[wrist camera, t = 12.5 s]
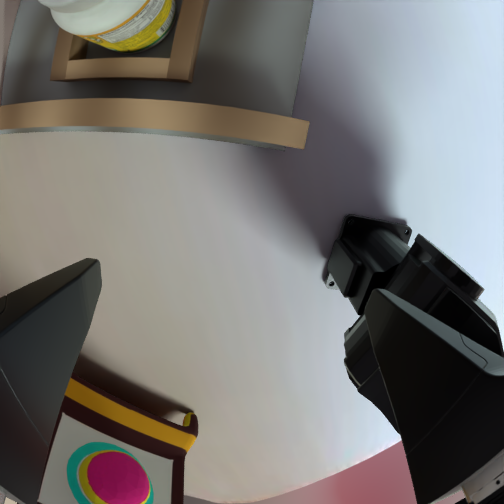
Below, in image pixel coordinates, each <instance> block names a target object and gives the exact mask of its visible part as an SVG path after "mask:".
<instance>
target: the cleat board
mask: <svg viewBox="0 0 504 504" xmlns="http://www.w3.org/2000/svg"><path fill="white" fill-rule="evenodd" d="M313 1H314V0H175V2H176V5H177V16H176V20H175V23H174V25H173V27H172V29H171V30H170V32H169V33H168V35H167V36H166V37H165V38H164V39H163V40H162V41H161V42H159V43H158V44H157V45H155V46H153V47H152V48H150V49H148V50H145V51H143V52H139V53H134V54H124V53H119V52H116V51H113V50H110V49H108V48H105V47H103V46H101V45H99V44H96V43H94V42H91V41H89V40H86V39H84V38H81V37H79V36H77V35H74V34H72V33H69V32H67V31H65V30H64V29H62V28H61V27H60V26H58V24H57V23H56V22H55V20H54V19H53V16H52V14H51V10H50V8H48V7H47V6H45V5H43V4H41V3H40V2H39V1H38V0H21V2H20V5H19V9H18V12H17V16H16V19H15V23H14V27H13V31H12V36H11V40H10V45H9V50H8V55H7V61H6V67H5V73H4V81H3V89H2V98H1V106H0V134H10V133H26V132H53V131H98V132H126V133H144V134H158V135H170V136H181V137H191V138H200V139H208V140H216V141H224V142H231V143H238V144H245V145H251V146H258V147H264V148H270V149H275V150H281V151H285V147H286V146H288V147H294V148H299V149H304V147H305V142H306V137H307V133H308V128H309V123H310V122H309V121H305V120H300V119H295V118H291V117H292V112H293V106H294V101H295V96H296V91H297V86H298V81H299V76H300V70H301V65H302V60H303V55H304V49H305V44H306V39H307V33H308V28H309V23H310V17H311V12H312V6H313Z"/></svg>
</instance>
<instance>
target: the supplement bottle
mask: <svg viewBox="0 0 504 504" xmlns="http://www.w3.org/2000/svg"><path fill="white" fill-rule="evenodd" d="M38 1H39V2H40V3H41V4H43V5H45V6H47V7H48V8H50V10H51V14H52V16H53V19H54V20H55V22H56V23H57V24H58V26H60V27H61V28H62V29H64V30H65V31H67V32H69V33H72V34H74V35H77V36H79V37H81V38H84V39H86V40H89V41H91V42H94V43H96V44H99V45H101V46H103V47H105V48H108V49H110V50H113V51H116V52H119V53H124V54H134V53H139V52H143V51H145V50H148V49H150V48H152V47H153V46H155V45H157V44H158V43H159V42H161V41H162V40H163V39H164V38H165V37H166V36H167V35H168V33H169V32H170V30H171V29H172V27H173V25H174V23H175V20H176V16H177V5H176V2H175V0H38Z"/></svg>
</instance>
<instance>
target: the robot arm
mask: <svg viewBox="0 0 504 504" xmlns="http://www.w3.org/2000/svg"><path fill="white" fill-rule="evenodd" d="M350 219H352V222H351V223H348V221H349V220H350ZM406 230H407V232H406V233H405V231H406ZM411 233H412V229H411V228H410V227H409V226H407V225H403V224H398V223H393V222H389V221H384V220H379V219H373V218H368V217H363V216H358V215H352V214H349V215H346V216H345V218H344V220H343V224H342V227H341V231H340V234H339V237H338V239H337V240H336V241H335V243H334V247H333V250H332V253H331V256H330V260H329V263H328V266H327V269H328V273H327V276H326V279H325V285H326V287H327V288H328V289H337V290H340V291H341V293H342V294H343V296H344V297H345V298H349V300H350V302H351V304H352V305H353V307H354V309H355V310H356V312H357V314H358V315H361V316H360V317H359V318H358V320H357V321H356V322H355V323H354V324H353V326H352V327H351V328H348V330H347V331H346V332H345V333H344V337H345V342H344V346H345V353H346V357H345V359H344V364H345V366H346V369H347V373H348V376H349V379H350V380H351V381H352V383H353V384H354V385H355V386H356V388H357V390H358V392H359V393H360V394H361V395H363V396H364V397H366V398H367V399H368V400H370V401H371V402H372V403H373V404H374V405H375V406H376V407H377V408H378V409H379V410H380V411H381V412H382V413H383V414H384V415H385V417H386V418H387V419H388V421H389V422H390V423H391V425H392V426H393V427H394V429H395V430H396V431H397V432H398V433H399V434H400V435H401V439H402V443H403V446H404V450H405V454H406V458H407V462H408V466H409V470H410V474H411V478H412V482H413V487H414V491H415V495H416V501H417V504H434V503H436V502H438V501H440V500H443V499H444V498H447V497H449V496H451V495H453V494H455V493H457V492H459V491H461V490H462V491H463V493H464V495H465V498H464V499H462V500H460V501H459V502H457V503H455V504H504V351H503V346H502V341H501V337H500V333H499V328H498V325H497V321H496V317H495V315H494V314H493V313H492V312H491V311H490V310H489V309H488V308H487V307H486V306H485V305H484V304H483V303H482V302H481V301H480V300H479V299H478V298H479V296H480V295H481V294H482V292H483V291H484V288H483V287H482V286H481V285H480V284H479V283H478V282H477V281H476V280H475V279H474V278H473V277H472V276H471V275H470V274H469V273H468V272H466V271H465V270H464V269H463V268H462V267H461V266H460V265H458V264H457V263H456V262H455V261H454V260H452V259H451V258H450V257H449V256H447V255H446V254H445V253H444V252H442V251H441V250H440V249H439V248H437V247H436V246H435V245H434V244H432V243H431V242H430V241H428V240H427V239H426V238H424V237H423V236H422V235H420V234H418V235H417V237H416V238H415V242H414V244H413V245H412V247H411V248H410V247H409V246H408V245H407V244H408V242H409V239H410V236H411ZM331 281H333V283H331V284H329V283H330V282H331ZM101 287H102V279H101V268H100V262H99V260H98V259H92V258H86V259H83V260H81V261H79V262H77V263H74V264H72V265H70V266H67V267H65V268H63V269H61V270H58V271H56V272H54V273H52V274H50V275H47V276H45V277H43V278H41V279H39V280H37V281H34V282H32V283H30V284H28V285H26V286H24V287H22V288H20V289H18V290H16V291H13V292H11V293H9V294H7V296H3V297H1V298H0V504H4V502H5V498H6V497H7V498H9V499H11V500H13V501H15V502H17V503H19V504H37V500H38V495H39V490H40V484H41V480H42V475H43V470H44V466H45V462H46V458H47V454H48V450H49V447H48V446H49V445H50V441H51V438H52V434H53V431H54V427H55V424H56V420H57V417H58V414H59V410H60V407H61V404H62V401H63V398H64V395H65V392H66V389H67V386H68V383H69V380H70V378H71V375H72V372H73V369H74V366H75V364H76V361H77V358H78V356H79V353H80V351H81V348H82V346H83V343H84V341H85V338H86V336H87V333H88V330H89V328H90V325H91V321H92V318H93V314H94V311H95V308H96V304H97V301H98V298H99V295H100V292H101Z"/></svg>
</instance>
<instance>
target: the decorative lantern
mask: <svg viewBox="0 0 504 504" xmlns="http://www.w3.org/2000/svg"><path fill="white" fill-rule="evenodd" d="M197 435H198V420H197V416H196V415H195V414H194V413H187V414H186V415H185V417H184V420H183V426H181V425H178V424H175V423H173V422H170V421H168V420H165V419H163V418H161V417H158V416H156V415H154V414H151V413H149V412H147V411H144V410H142V409H140V408H138V407H136V406H134V405H131V404H129V403H127V402H125V401H123V400H121V399H119V398H117V397H115V396H113V395H111V394H109V393H107V392H105V391H103V390H102V389H100V388H98V387H96V386H94V385H92V384H91V383H89V382H87V381H85V380H83V379H82V378H80V377H78V376H77V375H76V374H75V373H74V372H72V375H71V378H70V380H69V383H68V386H67V389H66V392H65V395H64V398H63V401H62V404H61V407H60V410H59V414H58V417H57V420H56V424H55V427H54V431H53V434H52V438H51V441H50V445H49V446H48V447H49V450H48V454H47V458H46V462H45V466H44V470H43V475H42V480H41V484H40V490H39V495H38V500H37V504H183V496H184V461H185V456H186V454H187V452H188V450H189V449H190V448H191V446H192V445H193V443H194V442H195V440H196V438H197ZM17 504H19V503H17Z"/></svg>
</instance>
